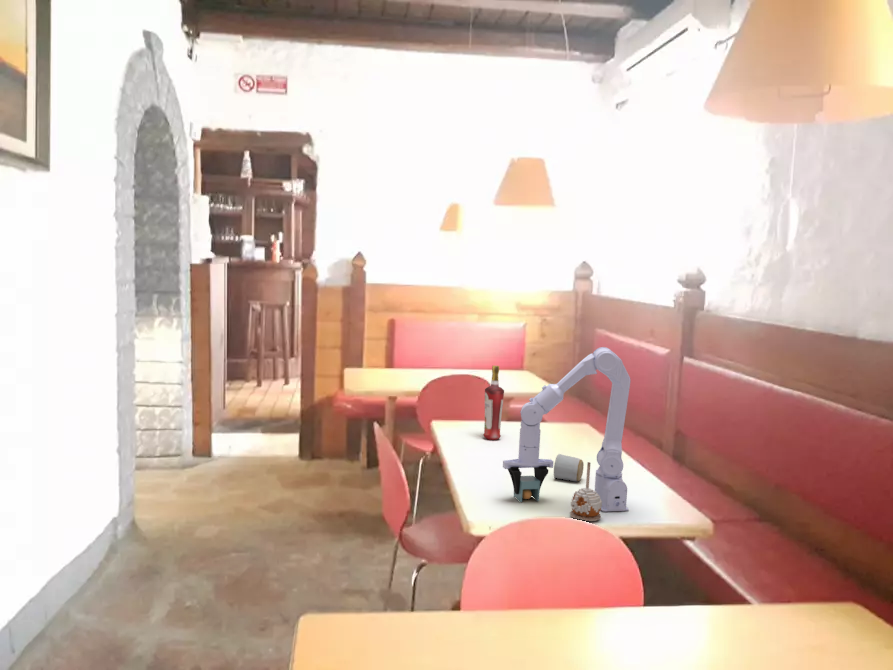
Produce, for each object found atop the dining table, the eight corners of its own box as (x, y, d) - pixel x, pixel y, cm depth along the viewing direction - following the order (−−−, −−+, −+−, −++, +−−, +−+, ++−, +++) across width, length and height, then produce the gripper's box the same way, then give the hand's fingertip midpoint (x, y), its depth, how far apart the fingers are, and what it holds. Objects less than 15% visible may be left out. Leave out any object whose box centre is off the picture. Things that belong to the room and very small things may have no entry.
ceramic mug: (578, 484, 229) (580, 459, 229) (552, 480, 232) (554, 456, 232) (585, 477, 239) (586, 453, 239) (559, 473, 242) (561, 449, 242)
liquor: (479, 436, 288) (483, 364, 286) (497, 436, 291) (501, 364, 288) (486, 441, 281) (490, 367, 279) (504, 440, 284) (508, 367, 281)
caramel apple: (564, 514, 201) (568, 459, 199) (590, 512, 203) (593, 458, 202) (580, 524, 193) (584, 467, 192) (606, 521, 196) (610, 465, 195)
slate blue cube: (538, 502, 210) (540, 481, 210) (520, 502, 209) (521, 481, 208) (531, 496, 215) (532, 475, 215) (513, 496, 214) (514, 476, 213)
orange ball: (533, 500, 211) (533, 490, 211) (523, 501, 210) (523, 490, 210) (529, 497, 214) (529, 487, 214) (519, 497, 213) (519, 487, 213)
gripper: (547, 441, 216) (544, 487, 218) (500, 442, 212) (497, 489, 214) (557, 447, 210) (554, 495, 211) (508, 448, 206) (506, 496, 207)
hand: (526, 492), depth 212 cm, fingers closed on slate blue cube, 5 cm apart
